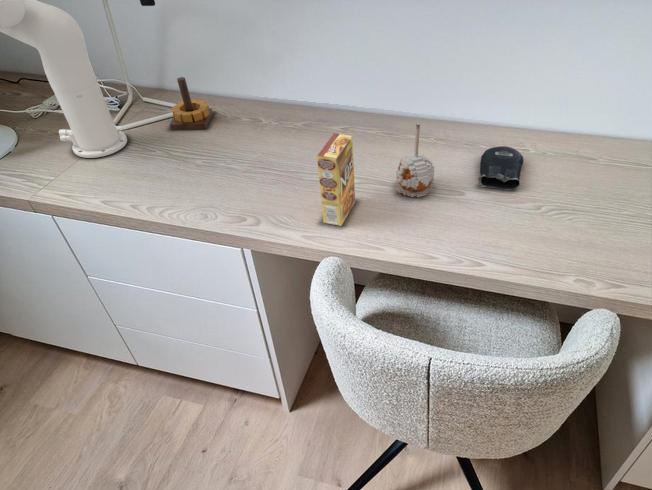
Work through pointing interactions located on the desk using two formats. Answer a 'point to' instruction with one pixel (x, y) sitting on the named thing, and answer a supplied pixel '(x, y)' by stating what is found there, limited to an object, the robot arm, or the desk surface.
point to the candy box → (336, 178)
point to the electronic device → (500, 168)
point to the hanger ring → (198, 114)
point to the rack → (189, 108)
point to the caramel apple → (415, 172)
